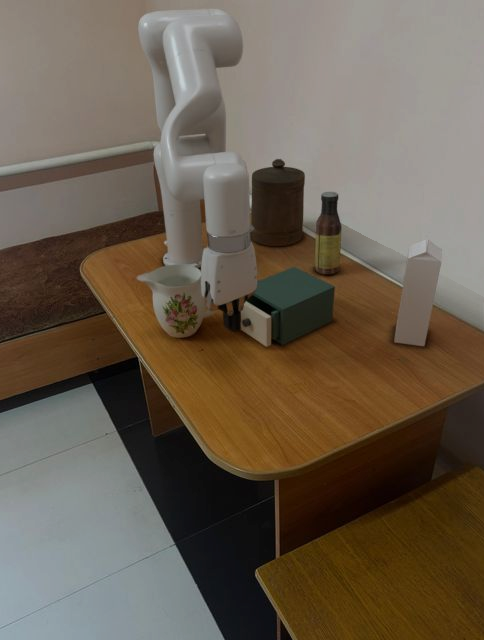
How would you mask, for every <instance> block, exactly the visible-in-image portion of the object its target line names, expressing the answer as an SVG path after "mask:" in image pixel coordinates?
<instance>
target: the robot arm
mask: <svg viewBox="0 0 484 640" xmlns="http://www.w3.org/2000/svg"><path fill="white" fill-rule="evenodd" d="M137 29H138V37H139V43H140V47H141V48H142V51H143V53H144V55H145V58H146V60H147V61H148V64H149V66H150V69H151V73H152V79H153V92H154V103H155V115H156V121H157V125H158V126H157V127H158V129H159V130H160V133H161V135H160V142H158V143H157V144H156V145H155V147H154V149H153V162H154V167H155V171H156V174H157V178H158V182H159V187H160V194H161V202H162V210H163V220H164V228H165V236H166V240H164V241H163V245H164V246H166V247H167V252H166V253H165V254H164V255H163V257H162V262H163V264H164V266H168V265H175V264H184V265H191V266H194V267H196V268H198V269H199V268H200V271H201V293H202V296H203V297H204V298H205V299H206V302H205V309H207V310H210V311H217V310H219V311H221V312H222V319H223V326H224V328H225V329H227V330H228V331H230V332H232V334H234V333H236V332H237V331H238V332H239V331H242V330H241V311H242V310H243V308H244V303H245V302H246V300H247V299H248V298H249V297H250V296H252V295H253V294H255V292H256V288H257V281H259V280H258V278H259V277H258V265H257V264H258V263H257V257H256V251H255V247H254V244H253V242H252V241H251V235H252V232H254V227H253V226H252V224H251V201H250V199H251V198H250V174H249V172H248V166H247V163H246V161H245V160H244V159H243V157H242V155H240V153H238V152H236V151H227V111H226V110H227V109H226V105H225V100H224V97H223V93H222V89H221V85H220V80H219V75H218V71H217V69H221V68H232V67H235V66H237V65H239V63H240V62H241V61H242V57H243V52H244V39H243V35H242V31H241V28H240V26H239V24H238V22H237V19H235V17H234V16H233V15H232V14H230V13H228V12H227V11H224V10H222V9H220V8H196V9H195V8H194V9H169V10H168V9H167V10H159V11H151V12H148V13H145V14H143V15H142V16H141V17H140V19H139V21H138V26H137ZM201 200H204V212H205V215H204V216H205V226H206V227H205V228H206V230H205V231H206V245H207V246H206V247H204V239H203V225H202V211H201V210H202V209H201Z"/></svg>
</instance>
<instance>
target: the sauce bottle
mask: <svg viewBox="0 0 484 640" xmlns="http://www.w3.org/2000/svg"><path fill="white" fill-rule="evenodd" d="M320 200H321V209H320V214H319V216H318V218H317V220H316V223H315V224H316V225H315V226H316V228H315V230H316V231H315V245H314V246H315V247H314V248H315V250H314V251H315V253H314V269H315V271H316V272H317V273H318V274H319V275H324V276H330V275H334V274H337V273H338V272H339V270H340V265H341V249H342V248H341V247H342V223H341V219H340V216H339V212H338V201H339V193H338V192H336V191H325V192H322V193H321V195H320Z"/></svg>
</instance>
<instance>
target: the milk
mask: <svg viewBox="0 0 484 640" xmlns="http://www.w3.org/2000/svg"><path fill="white" fill-rule="evenodd" d="M442 252H443V249H442V247H440V246H438V245H437V244H436V243H434V242H433V241H431V240H430V239H429V231H427V235H426V239H423V240H420V241H418V242H415V243H413V244H411V245H409V246H408V252H407V259H406V264H405V269H404V270H405V271H404V275H403V282H402V288H401V295H400V301H399V305H398V306H399V307H398V313H397V319H396V320H397V321H396V326H395V331H394V332H395V333H394V340H393V342H394V343H396V344H403V345H409V346H416V347H417V346H418V347H425V345H426V340H427V335H428V331H429V327H430V326H429V325H430V321H431V316H432V311H433V306H434V300H435V296H436V293H437V292H436V291H437V286H438V281H439V277H440V276H439V275H440V273H441V268H442V259H443V257H442V256H443V255H442V254H443V253H442Z"/></svg>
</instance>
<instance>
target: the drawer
mask: <svg viewBox="0 0 484 640" xmlns="http://www.w3.org/2000/svg"><path fill="white" fill-rule="evenodd" d="M280 312H281V311H279V310H277V309H276V308H274V307H272V306H271V305H269V304H267V303H265V302H264V301H262V300H260V299H259V298H257V297H255V296H253V295H252V296H250V297H249V298H248V299H247V300H246V302H245V303H244V308H243V310H242V311H241V330H240V331H242V332H243V333H245V334H247V335H248V336H249V337H251V338H253V339H254V340H255V341H257V342H258V343H260V344H261V345H262V346H264V347H266V348H268V347H269V346H271V345H272V340H273V341H275V340H274V339H277V338H279V337H280Z"/></svg>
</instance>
